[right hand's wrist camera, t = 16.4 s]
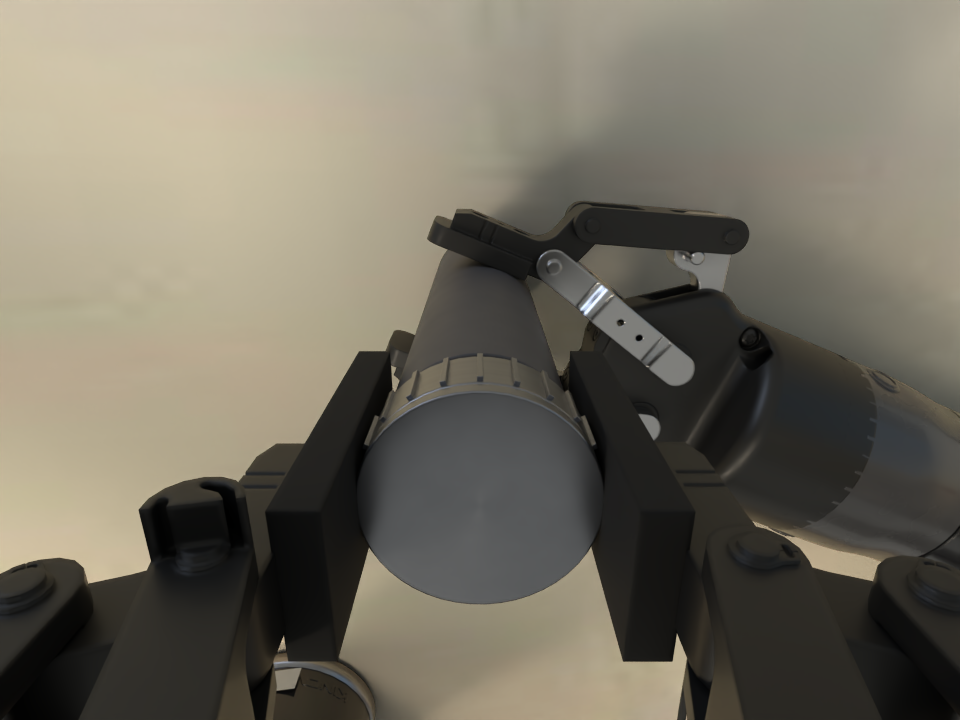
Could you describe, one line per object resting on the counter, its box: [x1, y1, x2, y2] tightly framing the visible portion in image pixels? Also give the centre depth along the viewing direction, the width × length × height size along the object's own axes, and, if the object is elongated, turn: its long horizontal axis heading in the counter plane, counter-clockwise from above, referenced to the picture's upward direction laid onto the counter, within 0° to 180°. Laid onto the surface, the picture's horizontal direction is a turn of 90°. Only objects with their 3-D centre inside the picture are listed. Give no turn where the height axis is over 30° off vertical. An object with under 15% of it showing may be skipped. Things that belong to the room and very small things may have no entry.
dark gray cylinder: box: [396, 250, 564, 391], centre depth 19 cm, size 4×4×18 cm
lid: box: [356, 353, 604, 604], centre depth 11 cm, size 5×5×2 cm
